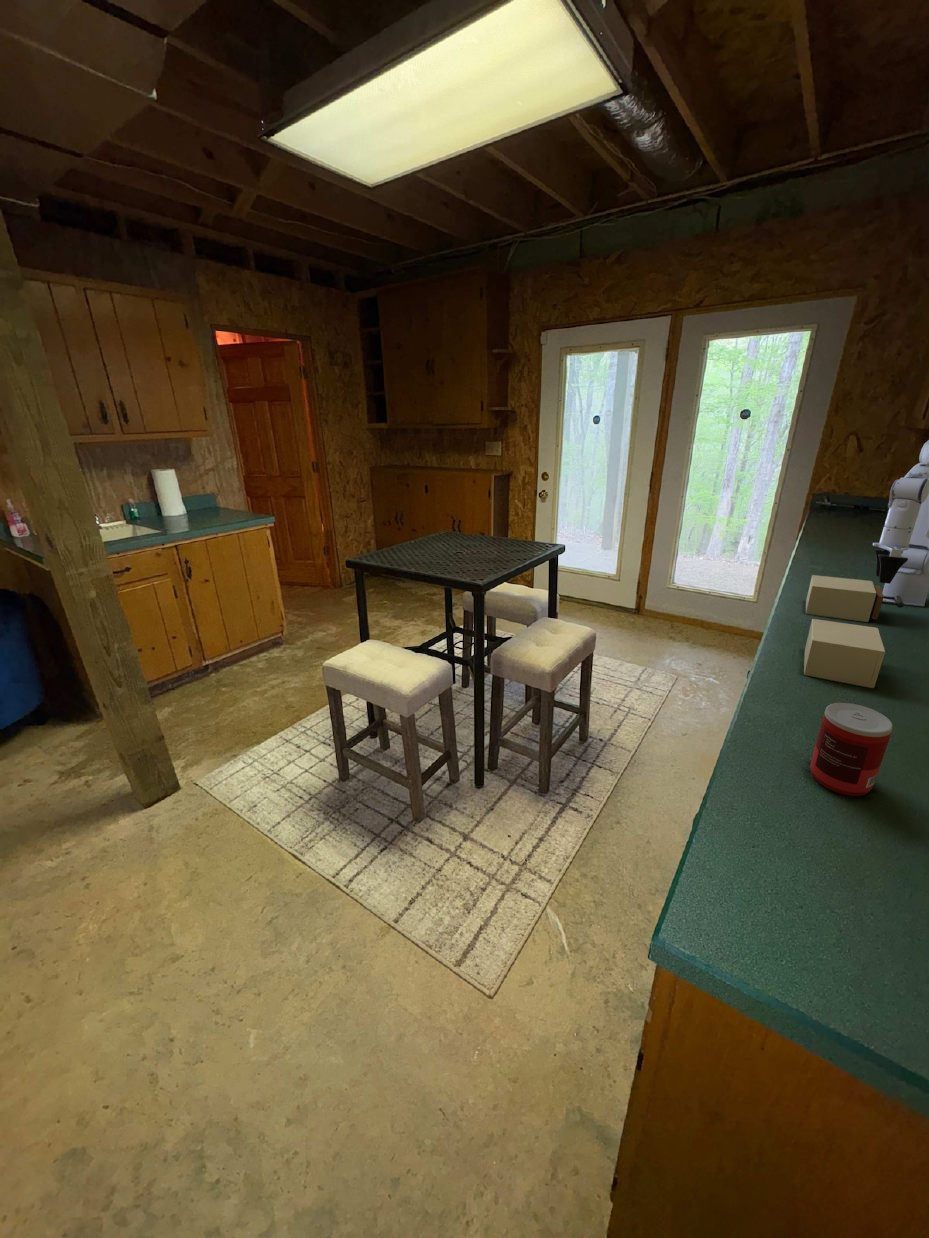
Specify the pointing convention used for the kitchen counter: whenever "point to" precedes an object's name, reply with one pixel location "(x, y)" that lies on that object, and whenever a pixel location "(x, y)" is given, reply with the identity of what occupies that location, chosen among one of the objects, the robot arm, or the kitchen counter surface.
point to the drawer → (883, 602)
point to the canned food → (850, 748)
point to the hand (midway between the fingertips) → (882, 579)
